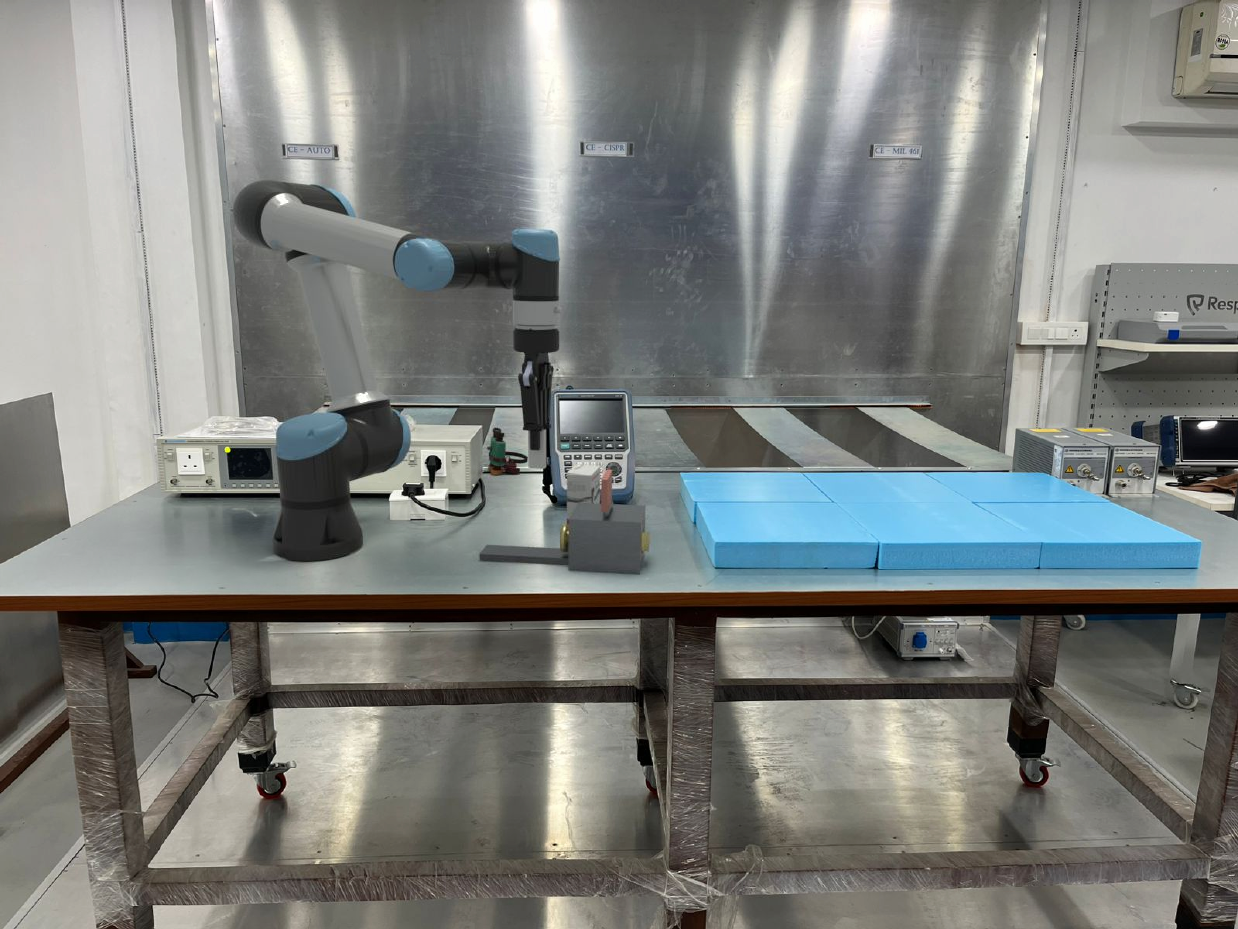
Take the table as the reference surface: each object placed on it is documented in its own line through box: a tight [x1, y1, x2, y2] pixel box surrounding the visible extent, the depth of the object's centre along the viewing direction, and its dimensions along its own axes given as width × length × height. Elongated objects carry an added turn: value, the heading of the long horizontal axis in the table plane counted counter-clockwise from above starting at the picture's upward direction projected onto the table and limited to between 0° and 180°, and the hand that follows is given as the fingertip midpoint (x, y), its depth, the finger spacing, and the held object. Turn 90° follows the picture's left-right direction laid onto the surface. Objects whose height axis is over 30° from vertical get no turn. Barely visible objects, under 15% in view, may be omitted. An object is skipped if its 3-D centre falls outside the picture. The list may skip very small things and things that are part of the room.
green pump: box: [486, 427, 528, 476], centre depth 206 cm, size 9×11×10 cm
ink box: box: [566, 463, 601, 524], centre depth 163 cm, size 9×5×12 cm, turn 168°
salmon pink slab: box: [600, 469, 614, 518], centre depth 143 cm, size 1×7×6 cm, turn 174°
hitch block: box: [478, 503, 646, 575], centre depth 145 cm, size 28×10×9 cm, turn 84°
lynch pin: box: [559, 523, 651, 552], centre depth 145 cm, size 15×5×5 cm, turn 84°
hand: (537, 467), depth 143 cm, fingers closed
